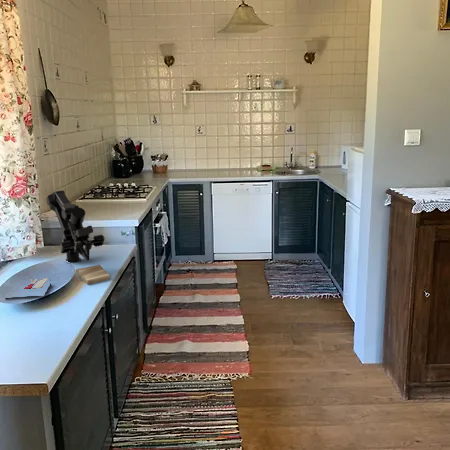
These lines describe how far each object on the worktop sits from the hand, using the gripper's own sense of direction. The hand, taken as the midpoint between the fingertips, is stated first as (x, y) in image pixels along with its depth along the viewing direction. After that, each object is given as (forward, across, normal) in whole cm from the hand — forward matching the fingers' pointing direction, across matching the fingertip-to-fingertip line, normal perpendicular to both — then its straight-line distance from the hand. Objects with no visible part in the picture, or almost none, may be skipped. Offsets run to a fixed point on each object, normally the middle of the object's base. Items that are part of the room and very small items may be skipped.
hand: (88, 260), depth 204 cm
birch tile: (+3, 0, +4) cm, 5 cm away
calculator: (+7, -26, +4) cm, 27 cm away
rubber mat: (+3, 0, +6) cm, 7 cm away
